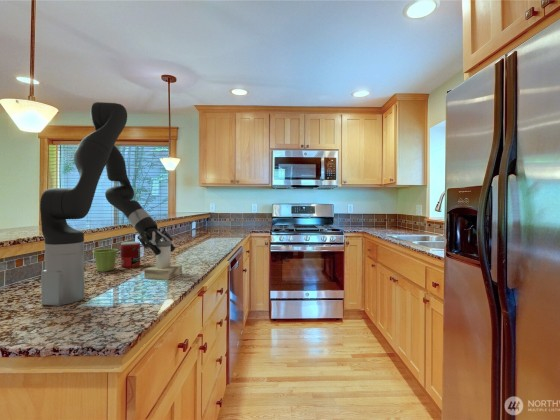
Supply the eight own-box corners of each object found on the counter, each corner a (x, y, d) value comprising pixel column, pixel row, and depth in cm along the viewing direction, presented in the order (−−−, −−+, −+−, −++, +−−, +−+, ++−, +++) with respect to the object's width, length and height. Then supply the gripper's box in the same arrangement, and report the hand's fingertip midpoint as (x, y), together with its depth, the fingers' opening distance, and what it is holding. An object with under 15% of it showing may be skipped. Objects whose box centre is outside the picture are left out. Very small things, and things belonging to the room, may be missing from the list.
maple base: (167, 279, 107) (167, 270, 107) (144, 278, 109) (144, 269, 109) (181, 273, 117) (181, 265, 116) (160, 272, 118) (160, 263, 118)
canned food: (134, 268, 125) (134, 243, 125) (117, 268, 126) (117, 243, 125) (143, 264, 133) (143, 241, 133) (126, 264, 133) (126, 241, 133)
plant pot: (96, 268, 125) (96, 249, 124) (120, 267, 127) (120, 248, 127) (89, 273, 116) (89, 252, 115) (115, 272, 118) (114, 251, 118)
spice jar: (165, 269, 109) (165, 243, 109) (152, 268, 110) (152, 242, 110) (173, 265, 115) (173, 241, 114) (161, 265, 116) (161, 241, 116)
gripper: (134, 216, 107) (159, 248, 104) (160, 215, 121) (183, 243, 118) (123, 230, 109) (148, 261, 106) (150, 227, 123) (172, 255, 120)
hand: (166, 252), depth 112 cm, fingers open, 8 cm apart
